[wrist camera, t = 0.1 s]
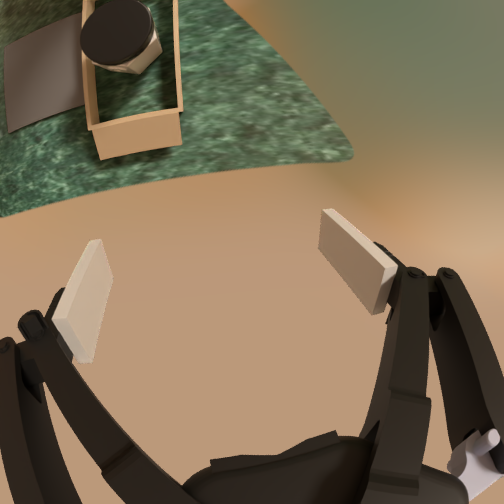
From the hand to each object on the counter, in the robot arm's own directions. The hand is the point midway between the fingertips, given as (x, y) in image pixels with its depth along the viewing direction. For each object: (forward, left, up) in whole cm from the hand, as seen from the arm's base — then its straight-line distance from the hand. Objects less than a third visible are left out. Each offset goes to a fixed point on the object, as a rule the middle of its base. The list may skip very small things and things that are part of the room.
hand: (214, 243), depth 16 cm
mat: (-19, -23, -28) cm, 41 cm away
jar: (-18, -8, -28) cm, 34 cm away
